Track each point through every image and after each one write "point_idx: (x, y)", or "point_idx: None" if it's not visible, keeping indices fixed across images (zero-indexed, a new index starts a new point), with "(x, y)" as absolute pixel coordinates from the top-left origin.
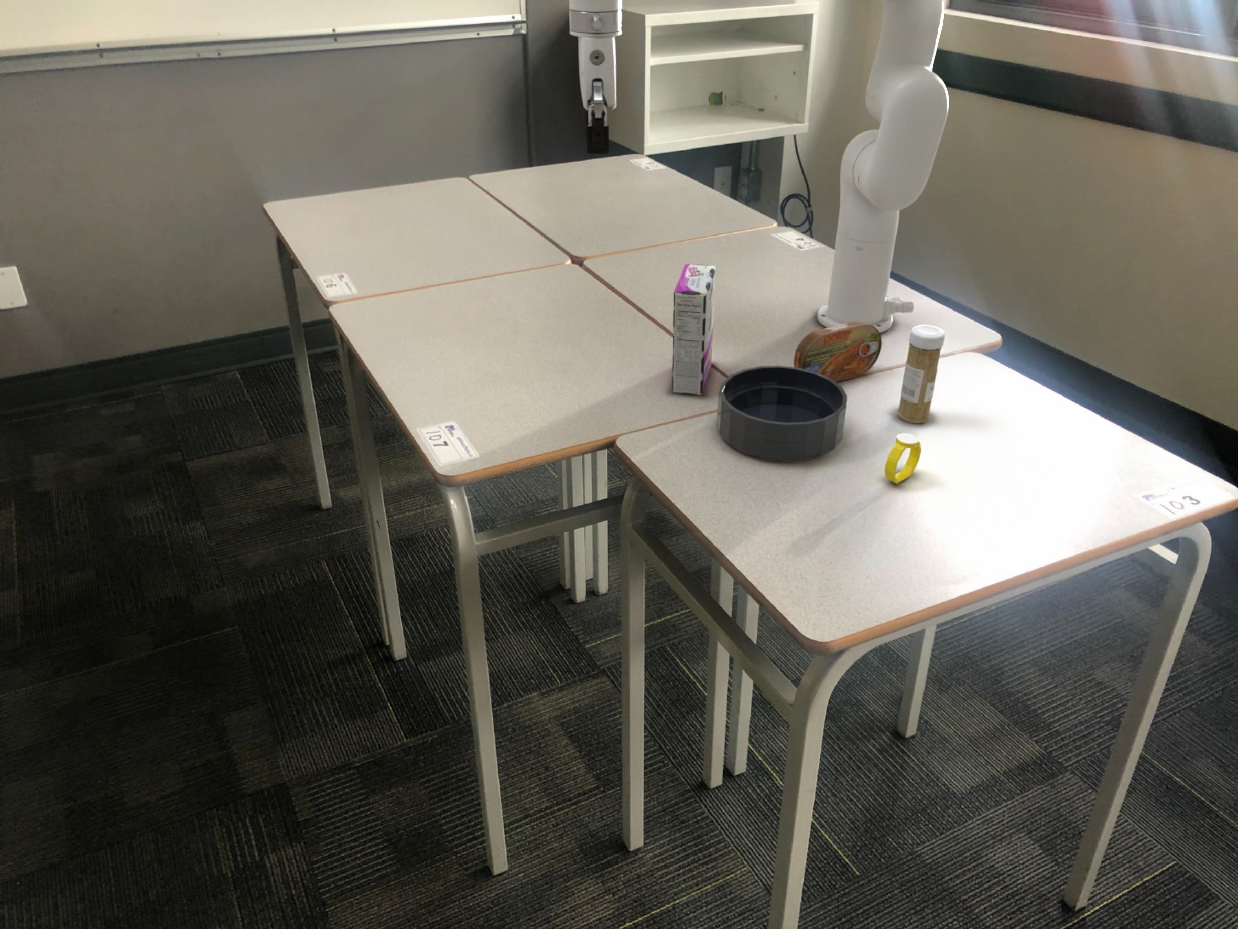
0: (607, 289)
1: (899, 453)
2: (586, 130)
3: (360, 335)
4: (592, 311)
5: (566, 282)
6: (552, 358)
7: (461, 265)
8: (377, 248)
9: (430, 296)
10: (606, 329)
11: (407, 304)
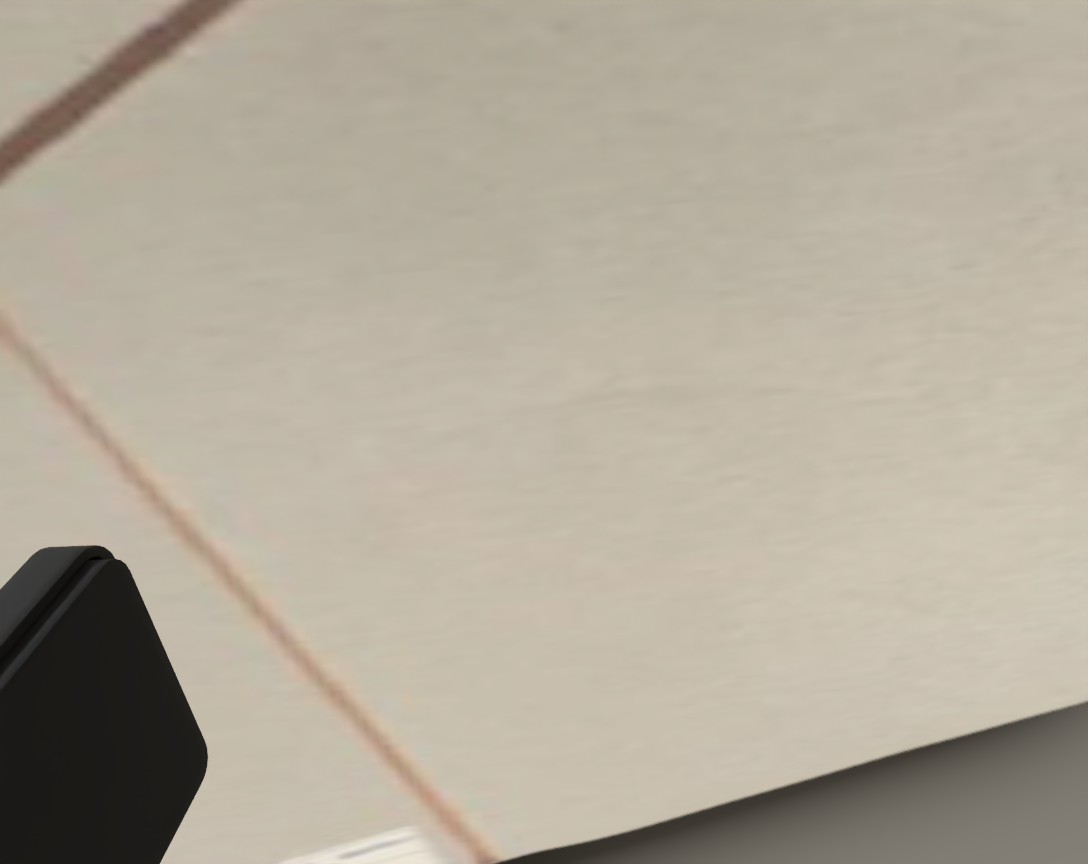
0: (177, 59)
1: None
2: (172, 838)
3: (713, 791)
4: (443, 110)
5: (152, 252)
6: (940, 238)
7: None
8: None
9: (399, 668)
10: (640, 26)
11: (473, 715)
